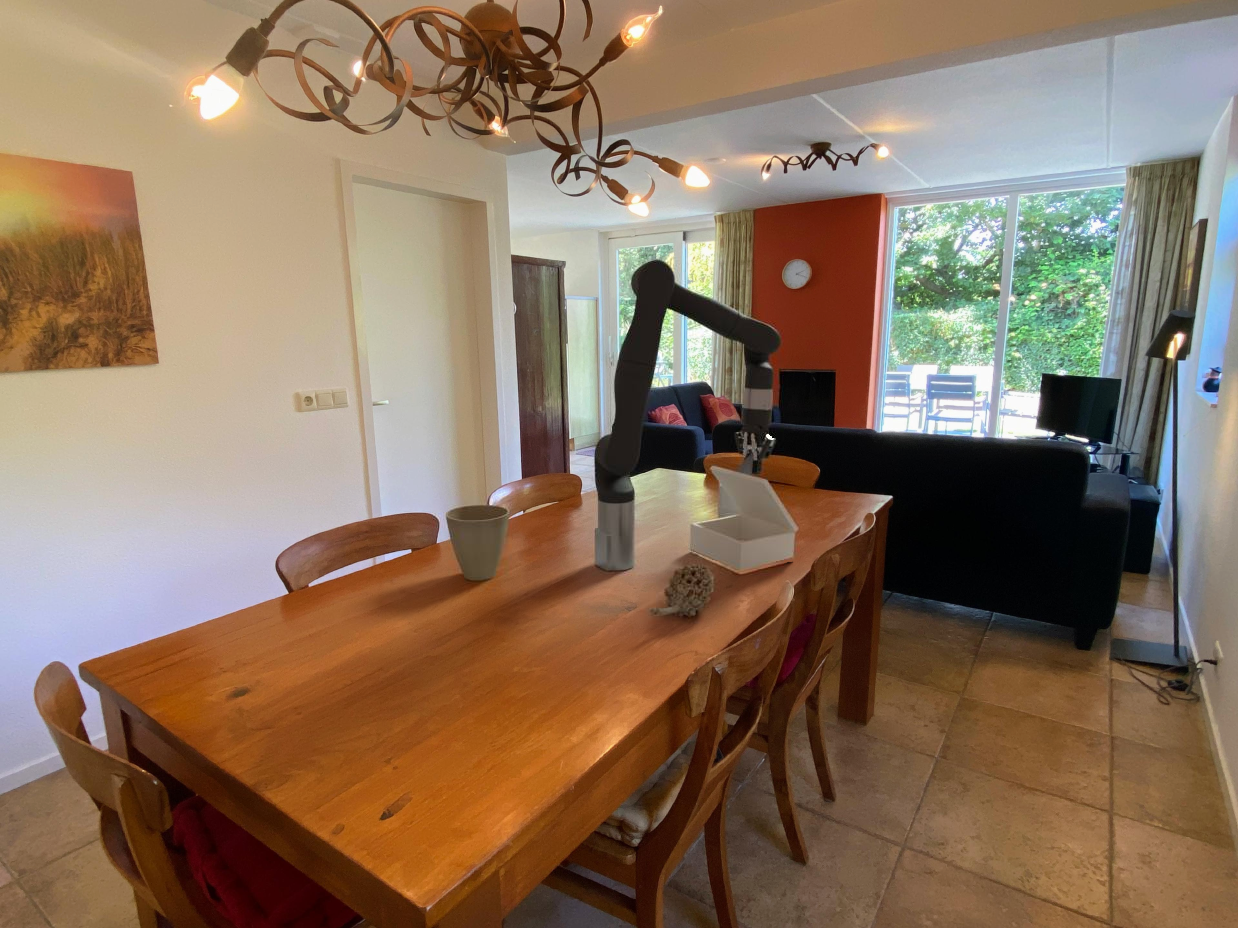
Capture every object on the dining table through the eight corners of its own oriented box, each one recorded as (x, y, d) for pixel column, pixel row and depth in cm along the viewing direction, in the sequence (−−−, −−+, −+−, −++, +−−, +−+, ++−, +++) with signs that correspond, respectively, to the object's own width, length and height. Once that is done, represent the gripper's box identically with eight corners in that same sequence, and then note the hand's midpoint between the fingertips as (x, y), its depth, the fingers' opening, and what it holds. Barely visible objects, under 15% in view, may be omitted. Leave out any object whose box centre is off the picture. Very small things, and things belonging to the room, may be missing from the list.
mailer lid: (763, 483, 158) (783, 459, 160) (709, 468, 175) (728, 447, 177) (795, 532, 167) (814, 508, 169) (741, 513, 184) (758, 492, 186)
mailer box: (740, 575, 159) (741, 543, 158) (689, 552, 176) (690, 523, 174) (793, 561, 168) (794, 532, 167) (740, 541, 185) (741, 513, 184)
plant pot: (497, 589, 151) (495, 522, 147) (437, 584, 153) (434, 518, 150) (520, 566, 165) (518, 505, 162) (465, 562, 168) (462, 502, 165)
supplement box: (741, 519, 207) (742, 480, 204) (743, 526, 200) (744, 485, 197) (717, 518, 208) (718, 480, 205) (718, 525, 200) (719, 485, 198)
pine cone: (681, 595, 147) (682, 553, 145) (721, 603, 142) (723, 560, 140) (635, 633, 128) (635, 585, 126) (679, 645, 124) (680, 595, 122)
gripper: (727, 404, 170) (723, 469, 173) (765, 409, 158) (760, 479, 161) (749, 403, 174) (744, 467, 177) (787, 409, 162) (782, 477, 165)
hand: (751, 472), depth 169 cm, fingers closed on mailer lid, 2 cm apart
